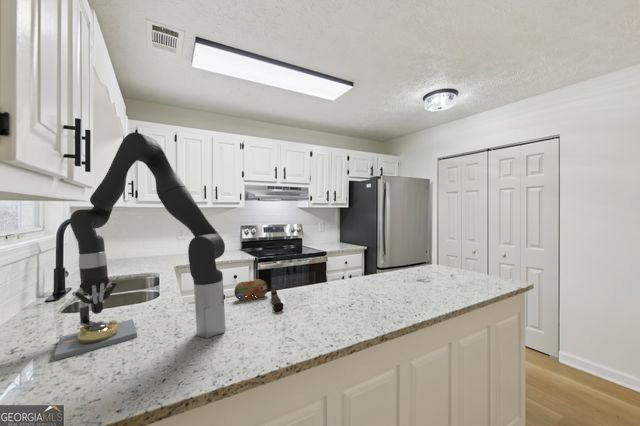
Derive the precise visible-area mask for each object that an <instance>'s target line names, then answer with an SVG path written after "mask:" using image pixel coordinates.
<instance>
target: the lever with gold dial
mask: <svg viewBox="0 0 640 426" xmlns="http://www.w3.org/2000/svg"><path fill="white" fill-rule="evenodd" d="M89 308H90V306H89V305H84V306H80V307H79V320H80V322H79V325H80V326H81V327H79V331H78V332H77V333H78V342H79V343H80V344H90V343H95V342H99V341H102V340H105V339H108V338H110V337H112V336H114V335H115V334H116V333H117V323H118V322H117V320H115V319H113V320H110V321H108V322H105V321H104V320H99V321H96V322H95V321H92V320H91V319H90V309H89Z"/></svg>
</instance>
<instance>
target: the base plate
mask: <svg viewBox="0 0 640 426" xmlns="http://www.w3.org/2000/svg"><path fill="white" fill-rule="evenodd" d="M136 338H138V331H137V329H136V326H135V323H134V320H133V319H127V320H122V321H120V322H119V321H118V322H117V333H116V334H115V335H114V336H112V337H110V338H108V339H105V340H102V341H99V342H95V343H90V344H80V343H79V342H78V332H74V333H70V334H65V335H63V336H60V337H59V339H58V343H57V346H56V348H55V352H54V355H53V361H58V360H63V359H66V358H69V357H72V356H76V355H80V354H84V353H87V352H90V351H94V350H97V349H101V348H104V347H108V346H110V345H111V346H112V345H115V344H118V343H122V342H125V341H128V340H133V339H136Z"/></svg>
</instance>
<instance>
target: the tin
mask: <svg viewBox="0 0 640 426" xmlns="http://www.w3.org/2000/svg"><path fill="white" fill-rule="evenodd" d="M268 288H269V286H268V284H267V282H266V281H265V280H264V279H260V278H259V279H258V278H257V279H253V280H246V281H241V282H239V283H237V284H236V286H235V287H234V292H233V294H234V296H235V298H236V299H237V300H238V301H241V302H243V301H242V300H246V301H249V300H248V299H251V300H254V299H255V298H256V297H258V298H256V299H260V298H263V297H264V296H266V295H267V294H268V293H267V292H268ZM252 295H253V296H252ZM245 296H247V297H245ZM255 296H256V297H255ZM239 297H240V298H239ZM256 299H255V300H256Z"/></svg>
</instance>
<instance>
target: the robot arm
mask: <svg viewBox="0 0 640 426" xmlns="http://www.w3.org/2000/svg"><path fill="white" fill-rule="evenodd" d="M137 161H138V162H141V163H144V165H146V167H147V168H148V169H149V171H150V172H151V174H152V175H153V178H154V180H155V190H156V194H157V197H158V199H159V200H160V203H162V205H163V206H164V208H165V211H167V212H168V213H169V215H171V216H172V217H173V218H175V220H177V221H179V222H180V223H181V224H183V225H184V226H185V227H186V228H187V229H188V230H189V231H190V232H191V234H192V235H193V236H194V237H193V238H192V239H191V240H190V241H189V244H188V247H187V252H188V254H187V255H188V264H189V272H190V275H191V278H192V281H193V292H194V293H193V296H194V311H195V314H194V315H195V326H196V336H197V337H200V338H206V339H209V338H211V337H214V336H218V335H220V334H223V333H225V332H226V327H227V325H226V315H225V314H226V313H225V312H226V311H225V310H226V309H225V294H224V293H225V292H224V280H223V279H224V277H223V272H222V270H219V269H218V268H217V264H216V262H217V261H216V260H217V259H219V258H221V257H222V256H223V255H224V253H225V249H226V246H225V245H226V244H225V241H224V239H223V238H222V236H221V235H220V234H219V232H217V230H216V228H214V226H213V225H212V224H211V223H210V221H208V218H207V217H206V215H204V213H203V211H202V210H201V208H200V207H199V205H198V204H197V202H196V201H195V199H194V198H193V196H192V194H191V192H190V191H189V190H188V188H187V186H186V185H185V184H184V183H183V181H182V180H181V178H180V176H179V175H178V173H177V172H176V171H175V169H174V168H173V167H172V165H171V162H170V161H169V159H168V157H167V155H166V152H165V151H164V149H163V148H162V145H161V143H159V142H158V140H156V139H154V138H152V137H150V136H148V135H145V134H143V133H140V132H136V131H135V132H130V133H128V134H126V136H125V137H124V138H123V140H122V141H121V143H120V145H119V147H118V149H117V151H116V153H115V155H114V157H113V160H112V162H111V163H110V166H109V168H108V169H107V172H106V175H105V176H104V178H103V179H102V181H101V182H100V184H99V185H98V186H97V188H96V189H95V190H94V191H93V193H92V195H90V198H89V202H90V203H91V205H92V206H93V207H92V208H90V209H89V208H87V209H86V208H85V209H84V208H83V209H77V210H74V211H73V213H71V216H70V219H69V225H70V228H71V230H72V232H73V235H74V237H75V239H76V241H77V243H78V244H77V245H78V254H79V255H78V267H79V278H80V285H79V288H78V289H77V290H76V291H72V293H71V295H72V296H73V297H75V298H76V299H78V300H80V301H81V302H83V303H84V304H88V305H89V304H90V306H91V307H90V308H91V313H93V314H95V315H98V314H101V313H102V311H103V310H104V305H103V302H104V301H105V300H107V299H108V298H110V296H111V294H112V293H113V291H114V289H115V288H116V287H117V285H118V284H117V282H113V281H111V280H110V278H109V277H108V275H109V274H108V271H109V270H108V264H107V263H108V262H107V261H108V260H107V254H106V249H105V240H104V237H103V236H102V235H98V234H96V233H95V231H94V229H99V228H100V229H101V228H102V227H103V226H105V225H106V224H107V223H108V221H109V220H110V218H111V217H110V216H111V214H112V212H113V209H114V206H115V205H116V204H117V202H118V201H119V199H120V198H121V197H122V196H123V194H124V191H125V189H126V184H127V176H128V173H129V170H130V169H131V167H132V166H133V165H134V164H135V163H136V162H137ZM84 293H85V294H87V296H88V297H87V296H85V295H84Z"/></svg>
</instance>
